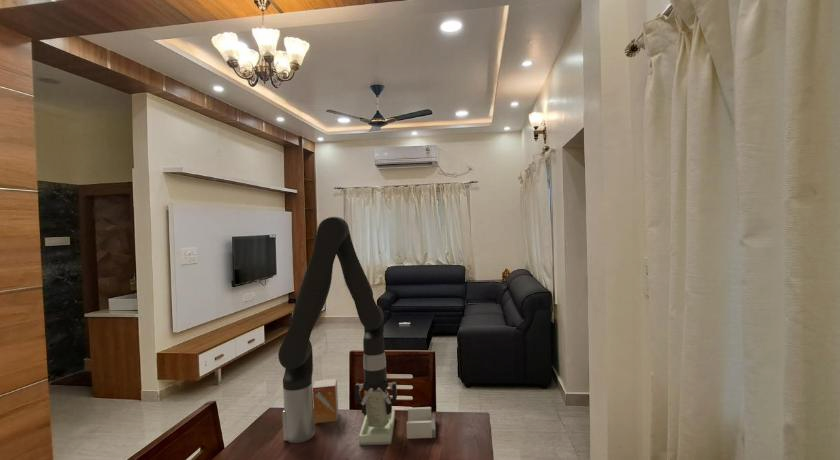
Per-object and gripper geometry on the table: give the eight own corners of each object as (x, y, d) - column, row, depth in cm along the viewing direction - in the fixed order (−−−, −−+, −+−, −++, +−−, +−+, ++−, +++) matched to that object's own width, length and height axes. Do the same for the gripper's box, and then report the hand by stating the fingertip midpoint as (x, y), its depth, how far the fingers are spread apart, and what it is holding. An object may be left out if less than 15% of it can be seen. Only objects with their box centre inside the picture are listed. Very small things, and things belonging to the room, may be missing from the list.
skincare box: (389, 422, 131) (386, 386, 131) (383, 429, 127) (380, 392, 127) (373, 419, 134) (370, 384, 134) (366, 426, 130) (363, 390, 130)
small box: (314, 424, 137) (312, 387, 137) (316, 415, 144) (314, 380, 143) (337, 421, 138) (335, 385, 138) (338, 412, 145) (336, 378, 144)
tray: (359, 445, 123) (358, 436, 123) (367, 419, 139) (366, 411, 139) (391, 444, 123) (390, 434, 123) (395, 418, 139) (394, 410, 139)
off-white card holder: (407, 438, 125) (406, 423, 125) (408, 421, 136) (408, 407, 136) (435, 437, 125) (435, 422, 125) (435, 420, 136) (434, 406, 135)
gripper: (351, 370, 127) (353, 420, 127) (395, 369, 126) (397, 419, 127) (355, 362, 134) (357, 409, 134) (397, 360, 134) (399, 407, 134)
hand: (377, 413), depth 131 cm, fingers closed on skincare box, 7 cm apart
